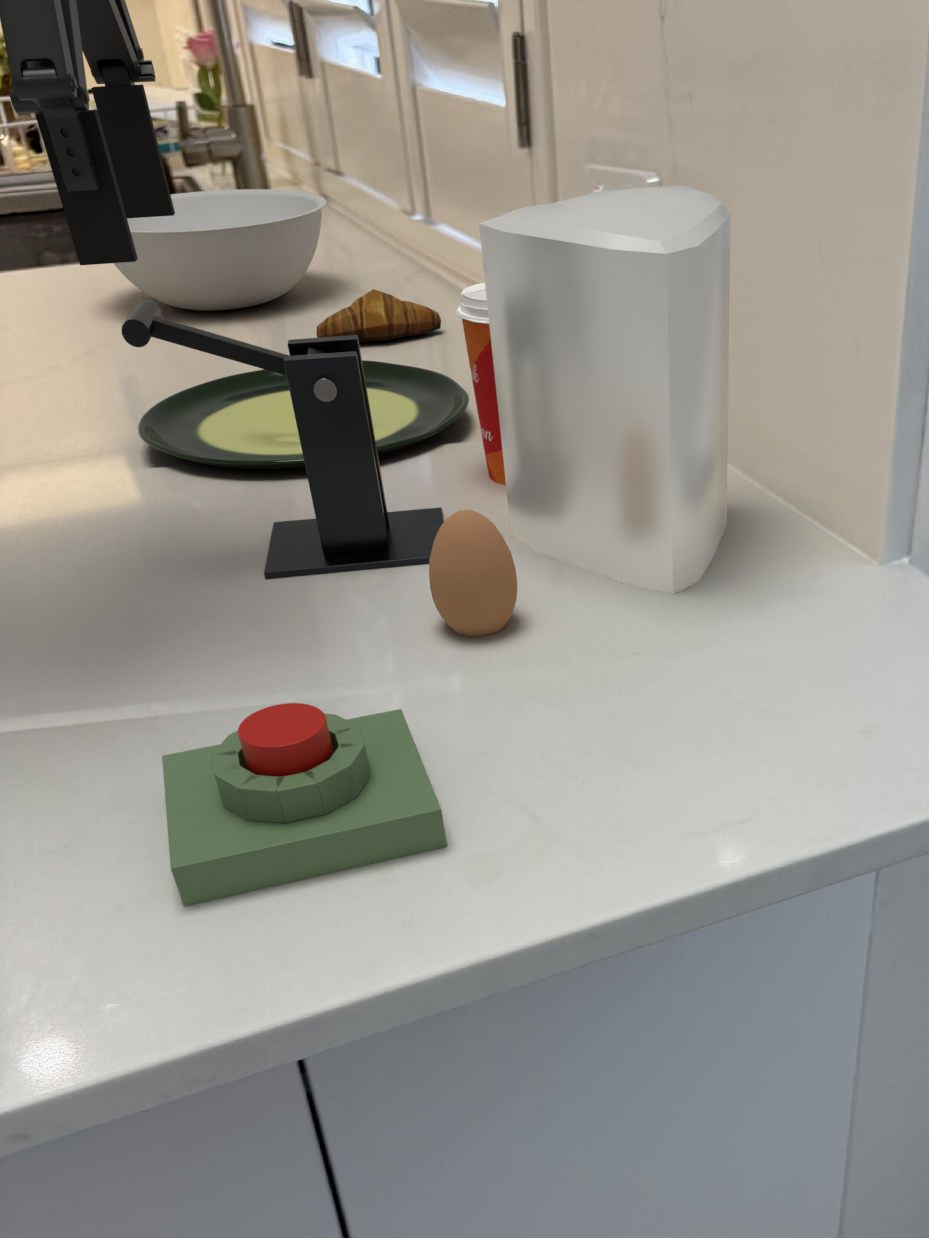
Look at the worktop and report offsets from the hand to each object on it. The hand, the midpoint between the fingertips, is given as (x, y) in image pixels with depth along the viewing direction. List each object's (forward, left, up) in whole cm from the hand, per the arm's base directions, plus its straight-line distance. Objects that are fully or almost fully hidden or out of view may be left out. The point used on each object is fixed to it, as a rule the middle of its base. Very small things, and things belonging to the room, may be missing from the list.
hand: (132, 238), depth 67 cm
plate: (-7, +32, -21) cm, 39 cm away
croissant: (-12, +63, -21) cm, 68 cm away
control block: (+16, -24, -21) cm, 36 cm away
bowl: (-37, +78, -21) cm, 89 cm away
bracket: (+7, +7, -21) cm, 23 cm away
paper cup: (+15, +22, -21) cm, 34 cm away
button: (+16, -24, -18) cm, 34 cm away
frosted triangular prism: (+27, +11, -21) cm, 36 cm away
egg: (+19, -4, -21) cm, 29 cm away
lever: (+2, +5, -8) cm, 10 cm away
